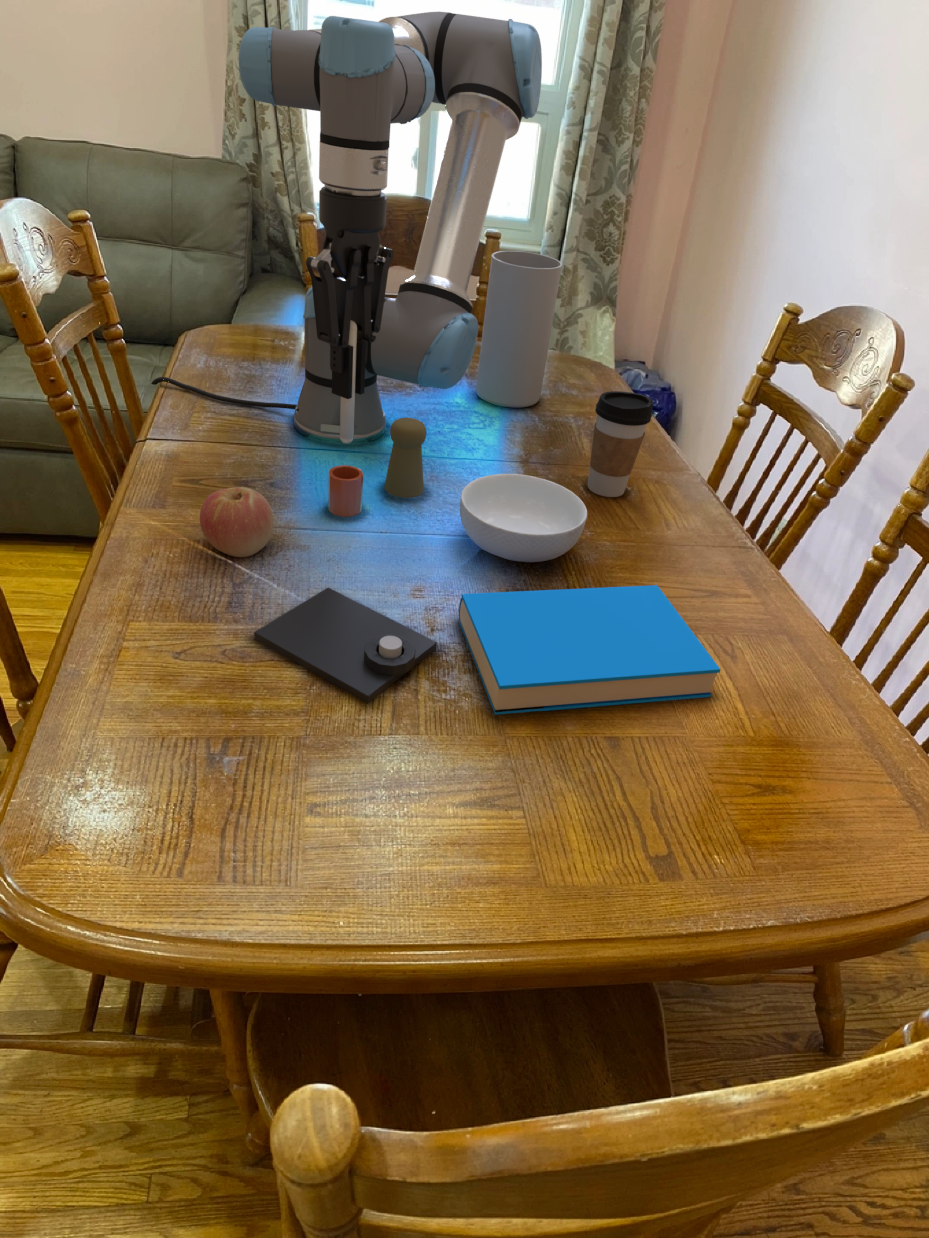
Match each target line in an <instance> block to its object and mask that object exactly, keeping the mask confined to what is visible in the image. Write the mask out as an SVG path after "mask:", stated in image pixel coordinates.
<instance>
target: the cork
mask: <svg viewBox="0 0 929 1238" xmlns="http://www.w3.org/2000/svg"><path fill="white" fill-rule="evenodd" d="M389 430H390V431H389V436H390V440H391V441H392V448H391V451H390V456H389V461H388V466H387V471H386V476H385V481H384V491H385V492H386V493H388V494H389V495H391V496H394V497H397V498H405V499H408V498H409V499H411V498H416V497H419V496H421V495H422V494H423V493H424V492H425V486H424V467H423V450H422V449H423V446H422V445H423V444H424V443H425V441H426V439H427V427H426V426H425V424H424V422H423V421H421V420H419V419H417V418H414V417H399V418H396V419H395V420H394V421H393V422H392V423H391V425H390V428H389Z"/></svg>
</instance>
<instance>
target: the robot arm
mask: <svg viewBox="0 0 929 1238" xmlns="http://www.w3.org/2000/svg"><path fill="white" fill-rule="evenodd" d="M542 54H543V53H542V44H541V38H540V34H539V32H538V30H537V29H536V28H535V26H534V25H532V24H530V23H526V22H520V21H514V19H513V18H508V20H504V19H499V18H490V17H485V16H483V17H482V16H475V15H469V14H468V15H467V14H461V13H453V12H449V11H427V12H420V13H412V14H405V15H398V16H388V17H385V18H382V19H380V20H379V21H374V20H367V19H360V18H350V17H345V16H337V15H330V16H327V17H326V18H325V19H324V20H323V22H322V23H321V28H315V29H296V30H292V29H291V30H290V29H280V28H276V27H275V26H269V27H264V26H263V27H262V26H253V27H250V28H249V29H247V30H246V32H245V33H244V34H243V36H242V38H241V41H240V44H239V48H238V56H237V57H238V73H239V78H240V80H241V85H242V87H243V88H244V90H245V92H246V94H247V95H248V96H249V98H251V99H253V100H254V101H256V102H261V103H265V104H270V105H272V106H273V107H277V106H280V107H287V108H294V109H295V108H296V109H301V110H308V111H316V112H319V113H320V114H319V115H320V116H319V118H320V123H319V124H320V126H319V127H320V128H319V129H320V132H319V150H318V151H319V152H318V153H319V156H318V159H319V160H318V161H319V162H318V179H319V182H321V183H322V185H324V186H322V187H321V188H320V189H319V191H318V193H319V194H318V203H319V204H318V220H319V223H320V224H321V225H322V226H323V228H324V232H325V233H324V238H323V241H322V245H321V249H322V251H320V253H319V254H318V255H317V256H315V257H313V256H308V257H306V260H305V266H306V268H307V272H308V274H309V277H310V279H311V286H310V287H309V288H308V290H307V291H306V293H305V298H304V312H303V316H302V317H303V319H304V321H303V322H304V329H303V330H304V381H303V384H302V387H301V390H300V393H299V397H298V400H297V404H296V403H295V404H294V403H293V404H292V403H283V402H265V401H255V400H247V399H241V398H233V397H228V396H224V395H220V394H215V393H211V392H209V391H206V390H204V389H201V388H199V387H195V386H193V385H189V384H185V383H183V382H180V381H178V380H175V379H173V378H171V377H166V376H159V377H156V378H154V379H153V380H152V381H151V382H150V385H158V384H159V383H168V384H171V385H173V386H175V387H178V388H180V389H183V390H185V391H189V392H193V393H195V394H198V395H201V396H203V397H206V398H209V399H213V400H216V401H220V402H224V403H230V404H235V405H242V406H250V407H257V408H258V407H259V408H271V409H272V408H274V409H287V410H294V413H293V425H294V428H295V430H297V432H299V433H300V434H301V435H303V436H305V437H306V438H312V439H315V440H319V441H323V442H329V443H339V444H344V443H343V442H342V441H341V439H340V405H341V397H343V398H346V399H350V398H352V376H353V346H350V345H348V344H349V334H350V322H351V320H352V321H354V322H355V323H356V325H357V345H356V376H355V408H354V437H353V440H352V442H350V443H349V444H353V443H362V442H363V443H364V442H371V441H374V440H377V439H378V438H380V437H381V436H383V434H384V433H386V427H387V426H386V425H387V424H386V423H387V419H386V418H387V417H386V414H385V411H384V409H383V406H382V400H381V396H380V392H379V387H378V376H380V377H383V378H388V379H394V380H397V381H400V382H406V383H410V384H414V385H419V386H420V387H423V388H435V389H441V390H447V389H451V388H453V387H455V386H456V385H457V384H458V383H459V382H460V381H461V380H462V378H463V377H464V375H465V374H466V372H467V371H468V368H469V366H470V364H471V361H472V359H473V356H474V353H475V349H476V346H477V338H478V335H479V321H478V319H477V317H476V316H475V315H474V314H473V313H472V312H473V303H472V301H471V300H470V298H469V295H468V294H467V293H468V292H467V291H468V287H469V283H470V280H471V275H472V272H473V268H474V264H475V260H476V256H477V253H478V249H479V245H480V242H481V241H480V240H481V237H482V233H483V230H484V225H485V221H486V218H487V214H488V210H489V206H490V202H491V199H492V195H493V190H494V186H495V182H496V179H497V175H498V173H499V167H500V163H501V160H502V156H503V152H504V148H505V144H506V141H507V140H509V139H511V138H514V137H515V136H516V135H517V134H518V133H519V130H520V126H521V122H522V120H523V118H524V119H526V120H528V119H531V118H534V117H535V115H536V113H537V111H538V108H539V103H540V97H541V87H542V76H543V75H542V73H543V55H542ZM432 103H433V104H439V105H443V106H444V105H445V106H444V109H445V113H446V115H447V117H448V119H449V121H450V127H449V130H448V135H447V138H446V142H445V146H444V150H443V154H442V158H441V161H440V165H439V169H438V173H437V178H436V182H435V185H434V190H433V194H432V196H431V197H432V199H431V200H430V201H431V202H430V206H429V209H428V214H427V216H426V217H427V218H426V220H425V221H426V222H425V225H424V229H423V233H422V237H421V241H420V244H419V249H418V253H417V257H416V261H415V265H414V268H413V272H412V276H411V277H409V278H407V279H406V280H404V281H402V282H401V283H400V284H399V288H398V291H397V295H396V298H394V297H393V298H391V297H387V296H386V291H387V283H388V276H389V269H390V267H391V264H392V261H393V259H394V255H395V252H394V250H393V249H392V248H388V247H385V246H383V245H382V244H381V238H380V234H379V233H380V232H382V231H383V230H385V228H386V225H387V205H388V197H387V196H386V194H385V193H384V192H382V191H384V190H385V189H386V188H387V187H388V177H389V176H388V175H389V174H388V172H389V149H390V139H391V125H392V124H400V125H405V124H408V123H412V121H415V120H417V119H419V118H421V117H422V116H424V114H425V113H427V111H428V110H429V109H430V107H431V105H432ZM163 379H164V380H163ZM168 381H169V382H168Z"/></svg>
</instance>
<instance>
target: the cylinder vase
mask: <svg viewBox="0 0 929 1238" xmlns="http://www.w3.org/2000/svg"><path fill="white" fill-rule="evenodd" d="M490 259H491V260H490V268H489V274H488V275H489V276H488V284H487V292H486V299H485V300H486V301H485V308H484V309H485V310H484V318H483V324H482V333H481V342H480V350H479V357H478V358H479V359H478V368H477V377H476V385H475V392H476V395H478V397H479V398H480V399H482V400H483V401H485V402H487V403H489V404H491V405H495V406H499V407H505V408H514V409H516V408H517V409H519V408H520V409H521V408H528V407H531V406H534V405H536V404H537V403H538V402H539V401H540V399H541V394H542V388H543V383H544V376H545V371H546V364H547V359H548V353H549V347H550V340H551V335H552V330H553V329H552V328H553V323H554V316H555V312H556V311H555V310H556V304H557V299H558V292H559V288H560V281H561V275H562V269H563V262H561V260H559V259H556V258H554V257H551V256H549V255H544V254H541V253H535V252H529V251H521V250H520V251H519V250H500V251H496V252H493V253H491V257H490Z"/></svg>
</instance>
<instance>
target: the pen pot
mask: <svg viewBox="0 0 929 1238" xmlns="http://www.w3.org/2000/svg"><path fill="white" fill-rule="evenodd" d="M327 474H328V477H327V479H328V480H327V481H328V482H327V483H328V485H327V509H328V511H329V513H331V514H332V515H334V516H336V517H340V518H341V517H342V518H343V517H344V518H349V517H355V516H357V515H360V514H361V512H362V510H363V492H364V491H363V490H364V472H363V470H362V469H360V468H359V467H357V466H353V465H347V464H342V465H341V464H340V465H336V466H333V467H331V468H330V469H329V470H328V473H327Z"/></svg>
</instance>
